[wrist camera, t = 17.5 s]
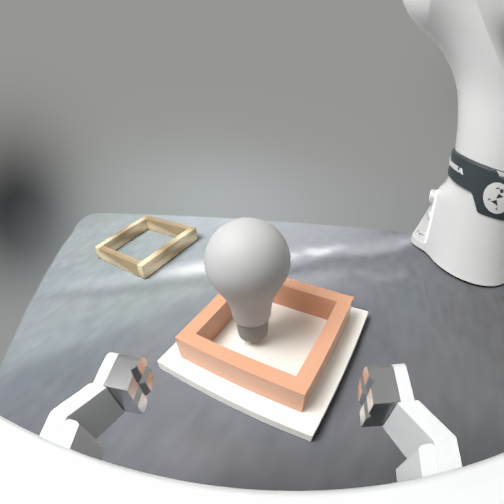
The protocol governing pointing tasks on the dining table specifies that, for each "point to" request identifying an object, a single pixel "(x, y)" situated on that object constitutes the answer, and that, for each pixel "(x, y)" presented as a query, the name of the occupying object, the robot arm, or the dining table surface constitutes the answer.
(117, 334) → the dining table surface
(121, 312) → the dining table surface
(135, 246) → the dining table surface
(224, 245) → the lightbulb
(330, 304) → the socket
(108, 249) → the square wooden frame
